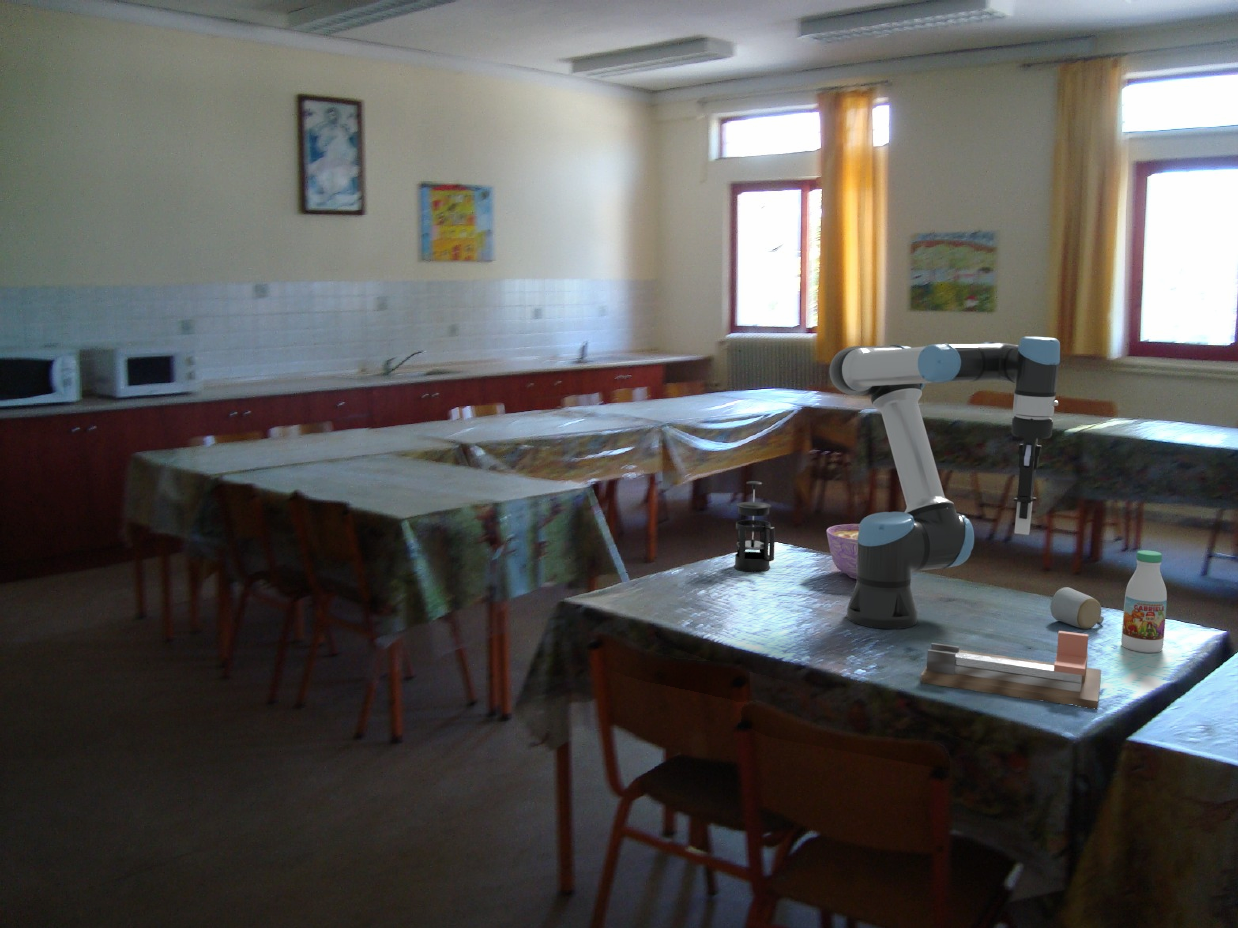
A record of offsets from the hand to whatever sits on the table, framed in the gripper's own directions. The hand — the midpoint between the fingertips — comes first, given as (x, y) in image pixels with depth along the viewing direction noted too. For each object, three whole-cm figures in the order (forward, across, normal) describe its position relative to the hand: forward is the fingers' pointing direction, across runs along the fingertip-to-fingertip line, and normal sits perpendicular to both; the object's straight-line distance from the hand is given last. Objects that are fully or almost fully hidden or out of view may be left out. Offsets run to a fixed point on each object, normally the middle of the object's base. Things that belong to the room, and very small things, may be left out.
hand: (1021, 533), depth 217 cm
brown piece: (+23, -20, -2) cm, 31 cm away
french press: (+28, +39, +68) cm, 83 cm away
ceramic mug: (+25, +24, -12) cm, 36 cm away
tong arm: (+20, -24, -2) cm, 31 cm away
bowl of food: (+27, +44, +40) cm, 65 cm away
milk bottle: (+24, +12, -24) cm, 36 cm away
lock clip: (+18, -23, -12) cm, 31 cm away
